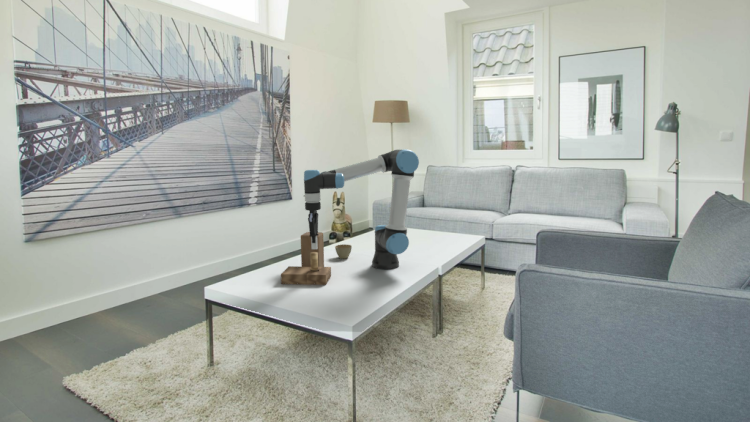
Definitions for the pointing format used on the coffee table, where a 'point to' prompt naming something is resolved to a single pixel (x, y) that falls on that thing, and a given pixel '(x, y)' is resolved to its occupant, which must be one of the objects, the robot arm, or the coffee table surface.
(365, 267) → the coffee table surface
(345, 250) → the flower pot
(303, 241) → the block
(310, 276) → the board
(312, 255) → the peg
